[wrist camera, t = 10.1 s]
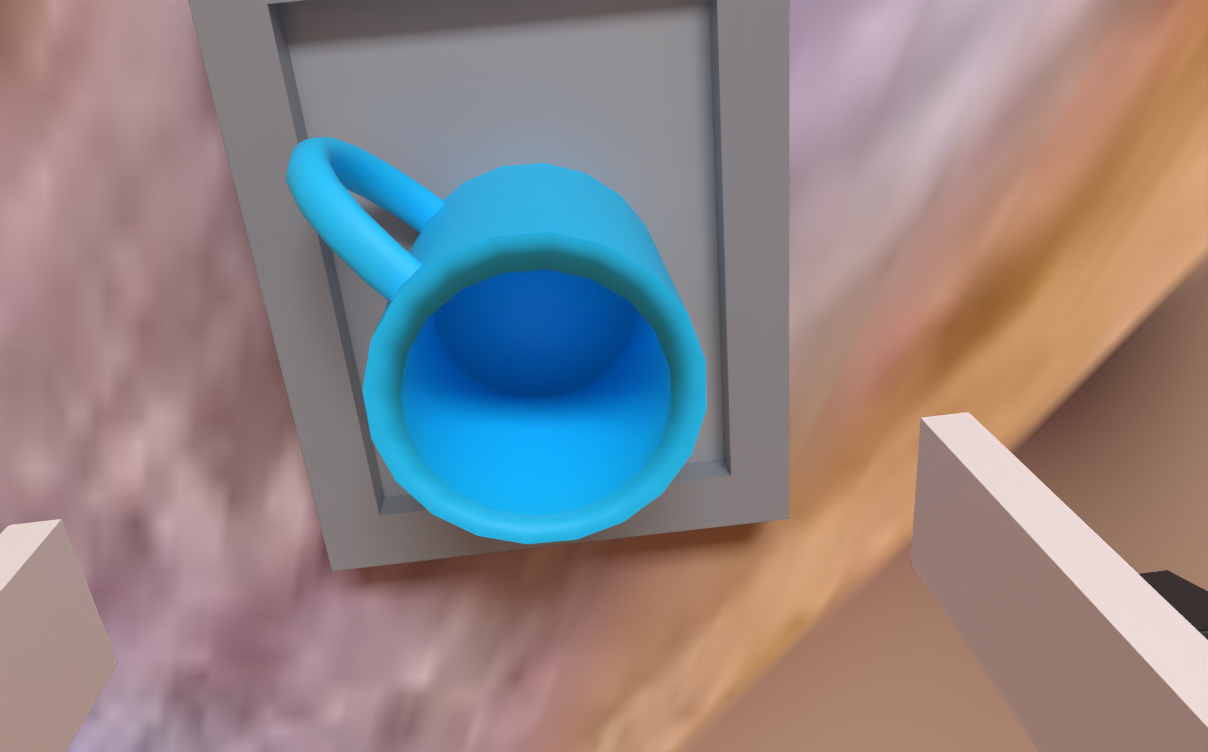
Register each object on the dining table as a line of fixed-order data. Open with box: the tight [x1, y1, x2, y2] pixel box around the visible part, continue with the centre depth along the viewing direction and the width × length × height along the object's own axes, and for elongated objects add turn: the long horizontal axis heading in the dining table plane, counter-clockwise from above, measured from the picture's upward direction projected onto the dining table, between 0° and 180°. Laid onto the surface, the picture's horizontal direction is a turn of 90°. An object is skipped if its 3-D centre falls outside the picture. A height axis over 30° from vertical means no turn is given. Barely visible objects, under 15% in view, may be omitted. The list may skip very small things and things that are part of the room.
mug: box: [286, 137, 707, 544], centre depth 24 cm, size 12×8×8 cm
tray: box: [188, 0, 789, 571], centre depth 28 cm, size 16×20×3 cm
